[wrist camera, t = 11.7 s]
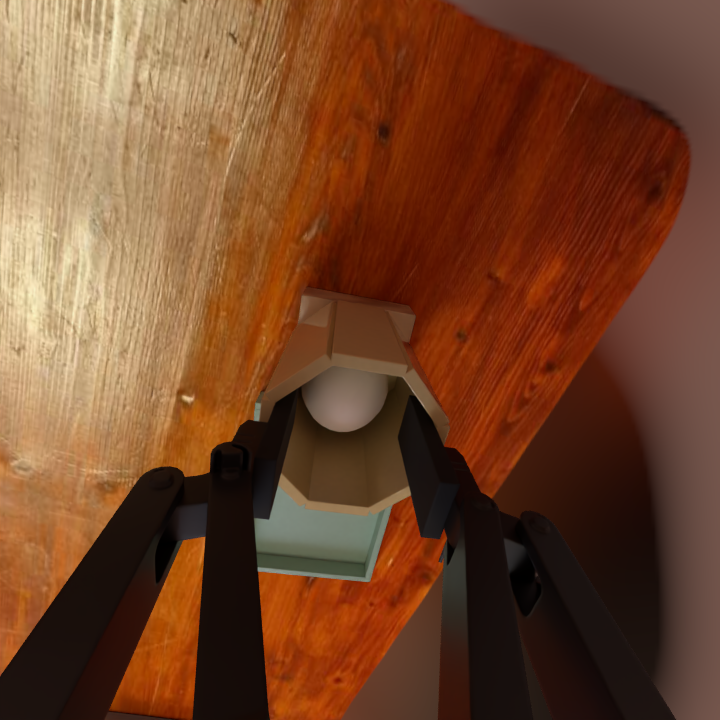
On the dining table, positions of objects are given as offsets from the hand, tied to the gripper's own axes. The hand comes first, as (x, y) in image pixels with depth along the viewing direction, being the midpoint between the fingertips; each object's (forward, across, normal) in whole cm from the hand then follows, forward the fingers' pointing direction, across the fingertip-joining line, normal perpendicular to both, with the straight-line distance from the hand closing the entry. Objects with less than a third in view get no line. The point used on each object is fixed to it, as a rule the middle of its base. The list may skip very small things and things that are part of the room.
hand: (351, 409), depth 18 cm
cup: (+7, 0, 0) cm, 7 cm away
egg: (+7, 0, 0) cm, 7 cm away
